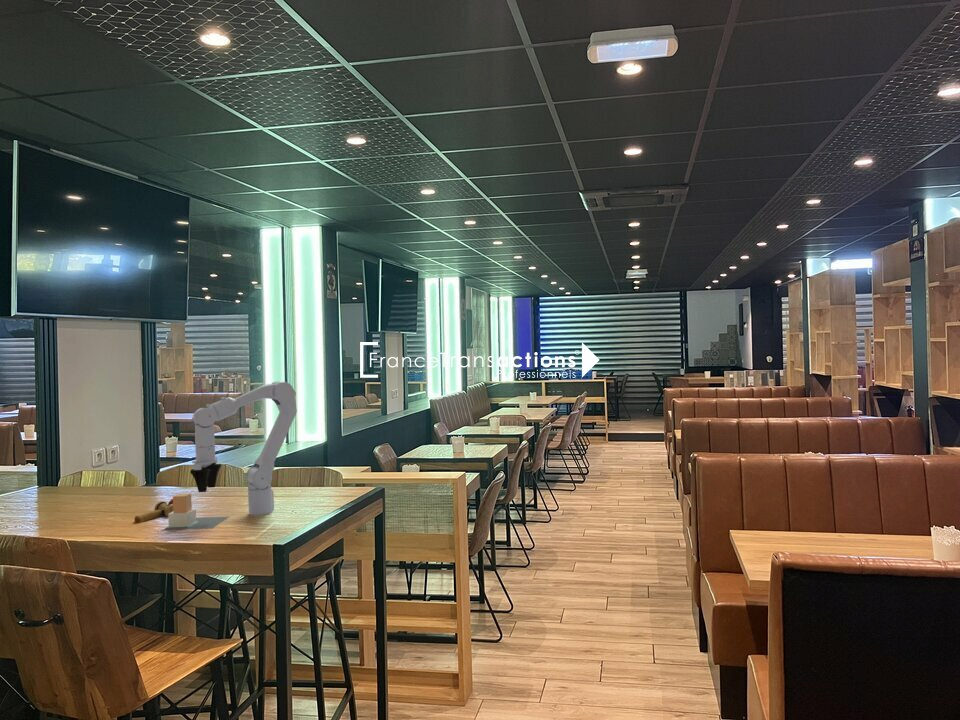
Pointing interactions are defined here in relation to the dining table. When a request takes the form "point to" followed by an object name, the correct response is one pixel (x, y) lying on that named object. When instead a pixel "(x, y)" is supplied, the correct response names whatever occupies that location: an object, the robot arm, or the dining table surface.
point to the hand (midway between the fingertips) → (207, 489)
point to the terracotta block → (182, 503)
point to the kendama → (156, 511)
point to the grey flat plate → (201, 523)
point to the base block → (182, 518)
